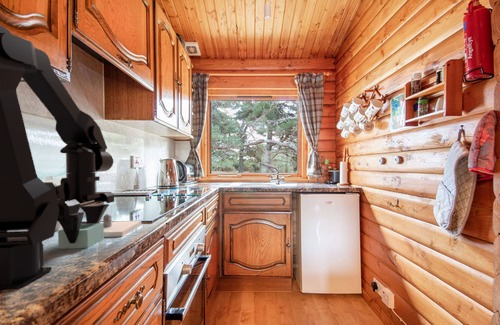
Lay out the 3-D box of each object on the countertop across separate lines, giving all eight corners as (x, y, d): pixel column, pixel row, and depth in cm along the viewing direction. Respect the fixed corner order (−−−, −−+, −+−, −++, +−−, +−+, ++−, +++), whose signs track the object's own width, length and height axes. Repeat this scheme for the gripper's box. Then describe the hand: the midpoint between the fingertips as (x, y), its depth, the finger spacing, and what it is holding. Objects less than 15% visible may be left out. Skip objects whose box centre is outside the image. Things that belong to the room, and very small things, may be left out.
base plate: (122, 236, 63) (122, 218, 63) (67, 237, 63) (66, 219, 63) (141, 224, 75) (141, 209, 75) (94, 225, 75) (94, 210, 75)
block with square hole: (87, 247, 55) (87, 230, 55) (58, 248, 55) (58, 230, 55) (103, 239, 61) (103, 223, 61) (77, 239, 61) (77, 223, 61)
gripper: (73, 172, 67) (74, 228, 67) (8, 175, 48) (10, 254, 48) (114, 171, 67) (115, 227, 67) (66, 174, 49) (67, 252, 49)
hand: (82, 238), depth 58 cm, fingers closed on block with square hole, 6 cm apart
